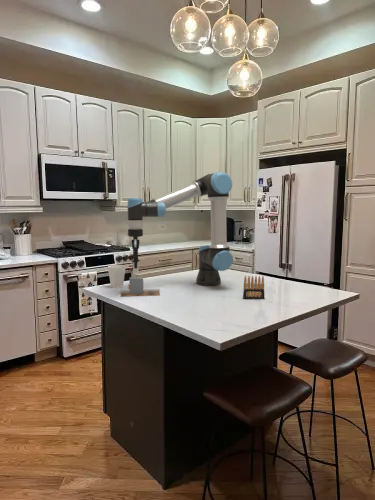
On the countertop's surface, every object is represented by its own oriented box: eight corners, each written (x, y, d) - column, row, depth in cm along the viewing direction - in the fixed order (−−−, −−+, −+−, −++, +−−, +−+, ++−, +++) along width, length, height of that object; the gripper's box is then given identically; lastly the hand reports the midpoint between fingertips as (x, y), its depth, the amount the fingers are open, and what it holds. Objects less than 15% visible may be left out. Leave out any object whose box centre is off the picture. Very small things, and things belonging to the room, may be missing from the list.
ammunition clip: (263, 298, 182) (264, 275, 180) (264, 299, 180) (265, 275, 178) (242, 298, 182) (243, 275, 180) (243, 299, 180) (243, 275, 179)
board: (158, 292, 194) (158, 289, 194) (160, 298, 181) (160, 295, 181) (121, 293, 191) (121, 290, 191) (120, 299, 179) (120, 296, 178)
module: (143, 291, 188) (143, 276, 187) (143, 293, 184) (143, 278, 183) (128, 292, 187) (128, 277, 186) (128, 294, 183) (128, 279, 182)
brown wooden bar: (159, 291, 189) (159, 289, 188) (159, 292, 186) (159, 290, 186) (121, 293, 186) (121, 290, 186) (120, 294, 184) (120, 291, 183)
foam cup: (113, 291, 195) (112, 268, 193) (105, 288, 202) (105, 266, 200) (128, 289, 201) (128, 266, 199) (120, 286, 208) (120, 264, 206)
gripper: (128, 227, 187) (128, 271, 190) (127, 229, 175) (128, 276, 178) (142, 227, 188) (143, 271, 191) (142, 229, 176) (143, 276, 179)
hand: (135, 274), depth 184 cm, fingers closed
